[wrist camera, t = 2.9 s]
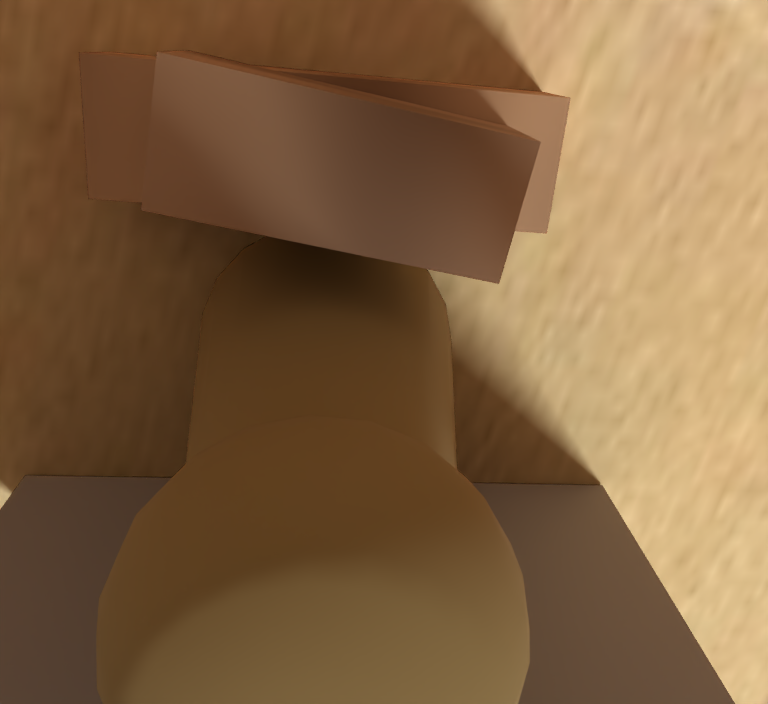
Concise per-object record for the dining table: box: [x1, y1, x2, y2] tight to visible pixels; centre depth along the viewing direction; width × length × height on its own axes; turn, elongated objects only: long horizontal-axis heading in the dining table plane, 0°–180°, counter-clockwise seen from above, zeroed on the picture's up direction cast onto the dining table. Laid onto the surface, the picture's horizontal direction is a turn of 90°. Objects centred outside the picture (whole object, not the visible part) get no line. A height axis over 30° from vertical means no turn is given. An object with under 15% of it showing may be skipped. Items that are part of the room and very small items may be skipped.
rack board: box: [0, 475, 735, 704], centre depth 14 cm, size 15×1×11 cm, turn 86°
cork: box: [96, 236, 530, 704], centre depth 13 cm, size 6×6×11 cm
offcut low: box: [79, 52, 570, 233], centre depth 15 cm, size 9×3×2 cm, turn 84°
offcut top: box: [141, 50, 541, 284], centre depth 13 cm, size 6×2×2 cm, turn 77°
